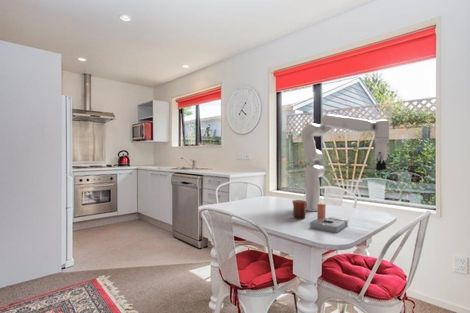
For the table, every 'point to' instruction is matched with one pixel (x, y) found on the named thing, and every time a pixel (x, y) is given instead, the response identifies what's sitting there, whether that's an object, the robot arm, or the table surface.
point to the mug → (299, 209)
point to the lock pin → (321, 210)
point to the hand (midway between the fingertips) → (381, 169)
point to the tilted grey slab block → (340, 220)
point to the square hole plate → (328, 224)
